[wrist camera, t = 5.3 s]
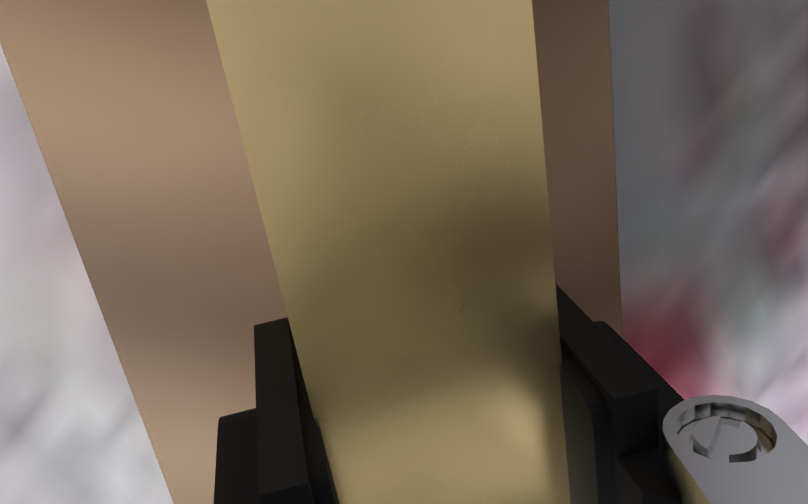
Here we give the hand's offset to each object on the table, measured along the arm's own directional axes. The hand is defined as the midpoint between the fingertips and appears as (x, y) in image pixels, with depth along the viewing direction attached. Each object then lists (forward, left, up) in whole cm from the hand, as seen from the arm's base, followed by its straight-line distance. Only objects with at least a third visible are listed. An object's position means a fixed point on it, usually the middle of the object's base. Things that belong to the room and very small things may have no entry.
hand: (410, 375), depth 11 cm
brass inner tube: (-5, 0, 0) cm, 5 cm away
